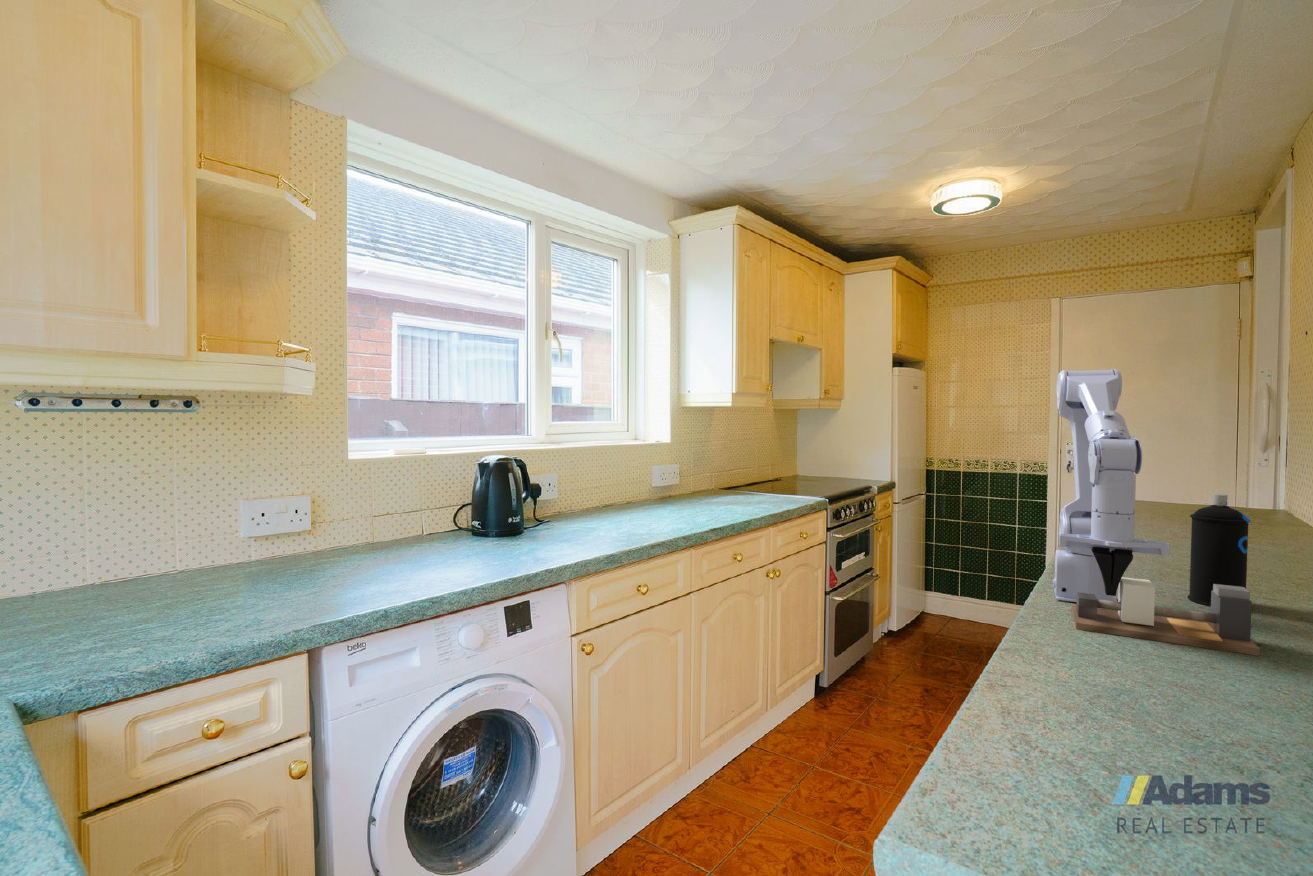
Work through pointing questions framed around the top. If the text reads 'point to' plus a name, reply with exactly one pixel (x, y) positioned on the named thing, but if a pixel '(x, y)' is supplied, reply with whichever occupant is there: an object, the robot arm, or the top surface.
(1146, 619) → the sleeve
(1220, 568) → the aerosol can
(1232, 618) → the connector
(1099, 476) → the robot arm
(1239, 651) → the rail board
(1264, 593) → the top surface
